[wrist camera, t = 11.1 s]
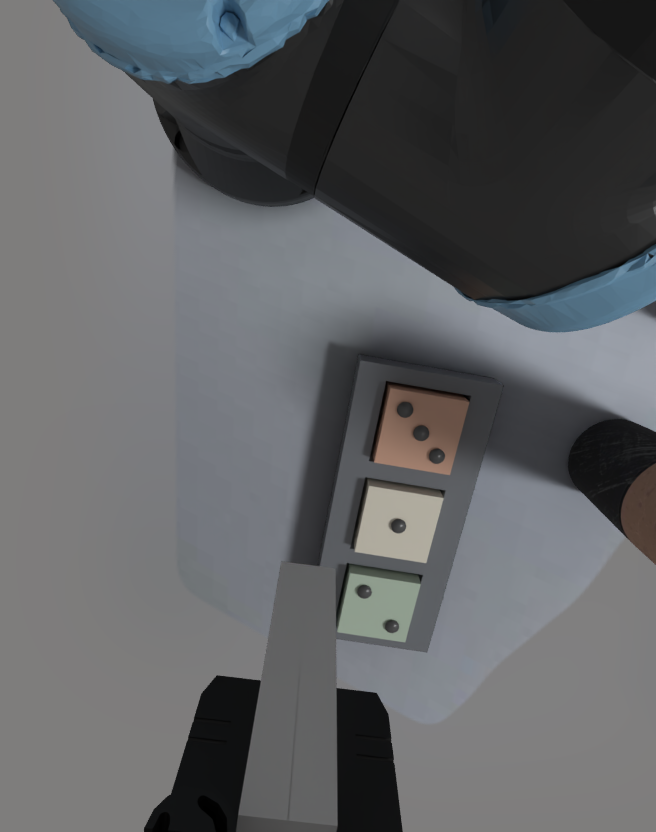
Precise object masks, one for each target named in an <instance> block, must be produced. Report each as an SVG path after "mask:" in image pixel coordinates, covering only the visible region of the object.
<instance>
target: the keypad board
mask: <svg viewBox="0 0 656 832" xmlns="http://www.w3.org/2000/svg"><path fill="white" fill-rule="evenodd" d="M386 381H389V382H395V383H401V384H407V385H412V386H418V387H424V388H430V389H435V390H441V391H447V392H453V393H458V394H462V395H463V396H464V397H465V398H466V399H467V400H468V401H469V406H468V410H467V413H466V417H465V421H464V425H463V428H462V432H461V436H460V439H459V443H458V447H457V451H456V454H455V458H454V462H453V465H452V469H451V473H450V475H446V474H440V473H434V472H428V471H422V470H416V469H410V468H404V467H398V466H392V465H386V464H380V463H374V459H373V454H372V451H371V449H372V444H373V440H374V435H375V430H376V426H377V421H378V417H379V412H380V407H381V403H382V398H383V393H384V389H385V384H386ZM503 386H504V385H502V384H501V383H499V382H498V381H497V380H495V379H494V378H489V377H484V376H478V375H472V374H467V373H461V372H455V371H450V370H444V369H438V368H433V367H427V366H421V365H416V364H410V363H404V362H399V361H393V360H387V359H382V358H376V357H370V356H365V355H359V356H358V361H357V366H356V371H355V376H354V381H353V387H352V392H351V397H350V402H349V407H348V412H347V417H346V422H345V427H344V432H343V438H342V443H341V448H340V453H339V458H338V463H337V468H336V473H335V478H334V484H333V489H332V494H331V499H330V504H329V509H328V514H327V519H326V524H325V529H324V535H323V540H322V545H321V550H320V555H319V560H318V565H317V566H321V567H329V568H336V639H341V640H347V641H354V642H361V643H367V644H374V645H381V646H387V647H394V648H401V649H407V650H414V651H421V652H428V648H429V645H430V641H431V638H432V634H433V631H434V627H435V624H436V620H437V617H438V613H439V610H440V606H441V603H442V599H443V596H444V592H445V589H446V585H447V582H448V578H449V575H450V571H451V568H452V564H453V561H454V557H455V554H456V550H457V547H458V543H459V540H460V536H461V533H462V530H463V526H464V523H465V519H466V516H467V512H468V509H469V505H470V502H471V498H472V495H473V491H474V488H475V484H476V481H477V477H478V474H479V470H480V467H481V463H482V460H483V456H484V453H485V449H486V446H487V442H488V439H489V435H490V432H491V428H492V425H493V421H494V418H495V414H496V411H497V407H498V404H499V400H500V397H501V393H502V390H503ZM365 477H367V478H373V479H379V480H386V481H392V482H398V483H404V484H410V485H416V486H422V487H428V488H434V489H440V491H441V494H442V496H443V498H444V499H443V503H442V506H441V510H440V514H439V518H438V521H437V525H436V529H435V532H434V536H433V540H432V544H431V547H430V551H429V555H428V559H427V562H426V563H421V562H415V561H409V560H403V559H396V558H390V557H384V556H377V555H371V554H365V553H358V552H355V549H354V537H353V533H354V528H355V523H356V519H357V514H358V509H359V505H360V500H361V495H362V491H363V486H364V482H365ZM347 563H350V564H357V565H363V566H370V567H376V568H382V569H389V570H395V571H401V572H408V573H414V574H418V576H419V579H420V583H421V585H420V589H419V593H418V597H417V600H416V604H415V608H414V611H413V615H412V619H411V623H410V626H409V630H408V634H407V637H406V641H405V642H399V641H392V640H385V639H379V638H372V637H366V636H359V635H352V634H346V633H339V632H337V607H338V602H339V598H340V593H341V588H342V584H343V579H344V574H345V570H346V565H347Z"/></svg>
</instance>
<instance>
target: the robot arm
mask: <svg viewBox="0 0 656 832" xmlns="http://www.w3.org/2000/svg"><path fill="white" fill-rule="evenodd" d="M53 1H54V2H55V3H56V4H57V6H58V7H59V8H60V10H61V12H62V13H63V14H64V15H65V16H66V17H67V19H68V21H69V23H70V26H71V28H72V29H73V30H74V32H75V33H76V34H77V35H78V36H79V37H80V38H82V39H84V40H85V41H86V43H87V44H88V46H89V47H90V48H91V50H92V51H93V52H94V53H96V54H97V55H98V56H100V57H101V58H102V59H104V60H105V61H107V62H108V63H109V64H111V65H113V66H114V67H117V68H118V69H121V70H123V71H124V72H125V73H126V74H127V75H128V76H129V77H130V78H131V79H133V80H134V81H135V82H136V83H137V84H138V85H139V86H140V87H141V88H142V89H143V90H145V91H146V92H147V93H148V94H149V95H150V96H151V97H152V98H153V101H154V105H155V108H156V111H157V114H158V117H159V119H160V122H161V124H162V126H163V129H164V131H165V133H166V135H167V137H168V138H169V140H170V142H171V143H172V145H173V147H174V148H175V150H176V151H177V153H178V154H179V155H180V157H181V158H182V159H183V160H184V162H185V163H186V164H187V165H188V166H189V167H190V168H191V169H192V170H193V171H194V172H195V173H196V174H197V175H198V176H199V177H201V178H202V179H203V180H204V181H206V182H207V183H208V184H210V185H211V186H213V187H214V188H216V189H217V190H219V191H221V192H222V193H224V194H226V195H228V196H230V197H232V198H234V199H237V200H239V201H242V202H245V203H249V204H253V205H259V206H269V207H277V206H288V205H293V204H297V203H301V202H304V201H307V200H310V199H312V198H314V197H315V199H317V200H318V201H320V202H322V203H323V204H325V205H326V206H328V207H329V208H331V209H333V210H334V211H336V212H337V213H339V214H340V215H342V216H344V217H345V218H347V219H348V220H350V221H351V222H353V223H355V224H356V225H358V226H359V227H361V228H362V229H364V230H366V231H367V232H369V233H370V234H372V235H373V236H375V237H376V238H378V239H380V240H381V241H383V242H384V243H386V244H387V245H389V246H391V247H392V248H394V249H395V250H397V251H398V252H400V253H402V254H403V255H405V256H406V257H408V258H409V259H411V260H413V261H414V262H416V263H417V264H419V265H420V266H422V267H424V268H425V269H427V270H428V271H430V272H431V273H433V274H435V275H436V276H438V277H439V278H441V279H442V280H444V281H446V282H447V283H449V284H450V285H452V286H453V287H454V288H455V289H456V290H457V292H458V293H459V294H461V295H462V296H463V297H464V298H466V299H467V300H469V301H474V302H475V303H476V304H478V305H480V306H485V307H489V308H493V309H494V310H496V311H498V312H500V313H501V314H503V315H505V316H507V317H509V318H510V319H512V320H514V321H516V322H517V323H519V324H521V325H523V326H526V327H528V328H531V329H535V330H539V331H545V332H571V331H578V330H583V329H588V328H592V327H596V326H599V325H603V324H606V323H609V322H611V321H614V320H616V319H619V318H621V317H623V316H626V315H628V314H630V313H633V312H635V311H637V310H639V309H641V308H643V307H645V306H647V305H649V304H651V303H652V302H654V301H656V0H53ZM393 760H394V757H393V750H392V743H391V732H390V724H389V716H388V713H387V711H386V709H385V707H384V706H383V704H382V702H381V700H380V698H379V696H378V695H377V693H373V692H364V691H356V690H348V689H339V688H336V568H329V567H321V566H313V565H305V564H297V563H289V562H282V561H281V567H280V572H279V578H278V584H277V590H276V596H275V602H274V608H273V613H272V619H271V625H270V631H269V637H268V643H267V649H266V655H265V661H264V667H263V673H262V679H261V681H260V680H251V679H243V678H234V677H226V676H216V677H215V678H214V680H213V681H212V682H211V683H210V685H208V687H207V688H206V689H205V690H204V691H203V693H202V694H201V697H200V700H199V704H198V707H197V710H196V714H195V717H194V722H193V723H192V727H191V730H190V733H189V737H188V741H187V743H186V747H185V750H184V753H183V757H182V760H181V763H180V767H179V770H178V773H177V777H176V780H175V783H174V786H173V790H172V793H171V795H169V796H167V797H166V798H165V799H164V800H163V801H162V802H161V803H160V804H159V805H158V806H157V807H156V808H155V809H154V810H153V812H152V814H151V816H150V818H149V820H148V822H147V824H146V826H145V827H144V832H403V831H402V823H401V815H400V807H399V799H398V790H397V782H396V774H395V765H394V763H393Z"/></svg>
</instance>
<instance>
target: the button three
mask: <svg viewBox="0 0 656 832" xmlns="http://www.w3.org/2000/svg"><path fill="white" fill-rule="evenodd" d="M468 406H469V401H468V400H467V399H466V398H465V397H464V396H463V395H462V394H458V393H453V392H447V391H441V390H435V389H430V388H424V387H418V386H412V385H407V384H401V383H395V382H389V381H386V384H385V389H384V393H383V398H382V403H381V407H380V412H379V417H378V421H377V426H376V430H375V435H374V440H373V444H372V449H371V450H372V454H373V459H374V463H380V464H386V465H392V466H398V467H404V468H410V469H416V470H422V471H428V472H434V473H440V474H446V475H450V473H451V469H452V465H453V462H454V458H455V454H456V451H457V447H458V443H459V439H460V436H461V432H462V428H463V425H464V421H465V417H466V413H467V410H468Z"/></svg>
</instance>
